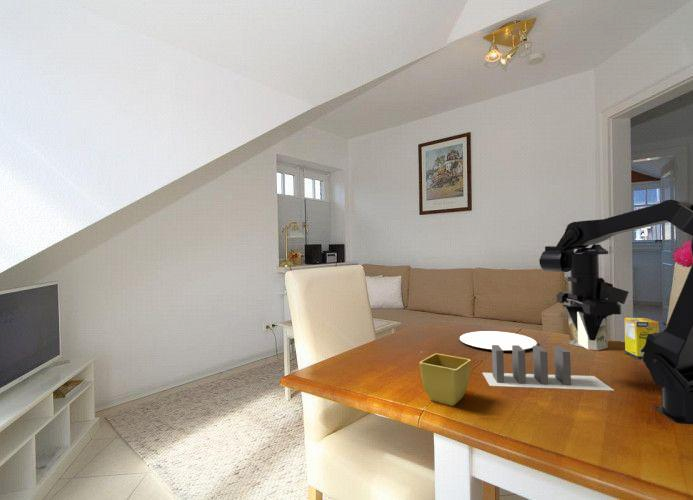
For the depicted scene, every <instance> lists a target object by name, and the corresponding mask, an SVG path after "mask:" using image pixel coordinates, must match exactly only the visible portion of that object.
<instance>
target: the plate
mask: <svg viewBox="0 0 693 500" xmlns="http://www.w3.org/2000/svg"><path fill="white" fill-rule="evenodd" d="M459 341H460V342H461V343H463V344H464V345H467V346H470V347H472V348H476V349H477V348H478V349H482V350H487V351H488V350H489V351H492V345H499V347H500V348H501V349H502V350H503V352H512V345H519V346H520V347H521V348H522V349H523V350H524V351H527V350H531V349H532V350H533V346H538V342H537V341H536V340H535V339H533V338H532V337H529V336H527V335H523V334H519V333H513V332H509V331H508V332H507V331H497V330H495V331H493V330H486V331H485V330H482V331H472V332H466V333H463V334H462V335H460V337H459Z"/></svg>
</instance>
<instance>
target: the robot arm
mask: <svg viewBox="0 0 693 500" xmlns="http://www.w3.org/2000/svg"><path fill="white" fill-rule="evenodd" d="M666 223H670V224H672V225H673V226H674V227H676V228H677V229H679V230H680V231H682V232H684V233H685V234H688V235H690V236H691V242H690V250H691V251H690V252H691V256H692V258H691V259H693V203H691V202H690V201H687V200H683V199H666V200H663V201H661V202H660V203H657V204H653V205H649V206H646V207H641V208H638V209H635V210H631V211H628V212H624V213H620V214H616V215H614V216H610V217H607V218H606V217H605V218H601V219H590V220H581V221H580V220H579V221H572V222H570V223H568V224H567V225H566V228H565V232H564V233H563V235H562V237H560V239H559V241H558V242H557V244H556V245H549V246H547V245H546V246H544V251H543V252H542V253H541V255H540V258H539V260H538V261H539V266H540V268H541V269H542V270H543V271H544V272H555V273H556V272H557V273H569V272H570V276H567V282H570V291H559V292H558V293H557V294H556V302H557V303H559V304H562V307H563V308H564V310H565V312H566V314H567V315H568V316H569V317H570V319H571V321H572V323H573V325H574V327H575V328H576V330H577V332H578V323H577V312H579V315H580V317H581V320H582V322H583V325H584V328H585V330H586V333H587V335H588V338H589V340H595V339H596V336H597V333H598V331H599V328H600V325H601V323H602V321H603V319H604V318H606V319H607V317H611V316H612V315H622V305H625V304H626V301H627V298H628V296H629V291H627V290H624V289H620V288H618V287H614V285H613V283H610V282H607V281H605V279H604V277H600V267H599V266H600V264H599V263H600V262H599V259H600V258H599V256H600V255H608V254H609V252H610V251H608V250H607V249H606V248H604V247H603V246H602V245H601V244H599V243H602V242H605V241H607V240H608V239H611V238H612V237H614V236H616V235H618V234H623V233H628V232H632V231H637V230H640V229H645V228H649V227H653V226H658V225H661V224H666ZM589 246H591V247H589ZM686 276H687V277H686V279H685V281H684V283H683V284H682V285H683V286H682V288H681V291H680V293H679V296H678V298H677V300H676V303H675V305H674V308H673V310H672V312H671V315H670V317H669V320H668V322H667V324H666V327H665V329H664V330H663V331H659V332H657V333H652V334H648V336H647V338H646V344H645V346H644V348H643V349H642V350H640V351H641V352H644V354H643V359H642V362H643V363H644V365H645V367H646V369H647V370H648V371H649V373H650V376H651V378H652V380H653V383H654V385H655V386H656V387H659V388H661V405H662V406H653V409H654V410H656V411H657V412H659V413H661V414H662V415H663V416H665V417H666V418H668V419H669V420H671V421H672V422H674V423H675V424H680V425H681V424H683V425H684V424H685V425H693V262H692V264H691V267H690V269H689V271H688V274H687V275H686ZM564 303H565V304H564ZM568 316H567V317H568Z"/></svg>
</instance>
